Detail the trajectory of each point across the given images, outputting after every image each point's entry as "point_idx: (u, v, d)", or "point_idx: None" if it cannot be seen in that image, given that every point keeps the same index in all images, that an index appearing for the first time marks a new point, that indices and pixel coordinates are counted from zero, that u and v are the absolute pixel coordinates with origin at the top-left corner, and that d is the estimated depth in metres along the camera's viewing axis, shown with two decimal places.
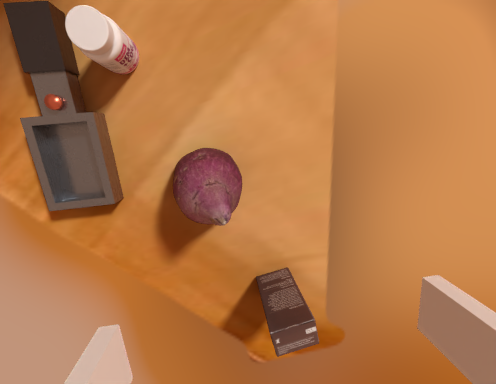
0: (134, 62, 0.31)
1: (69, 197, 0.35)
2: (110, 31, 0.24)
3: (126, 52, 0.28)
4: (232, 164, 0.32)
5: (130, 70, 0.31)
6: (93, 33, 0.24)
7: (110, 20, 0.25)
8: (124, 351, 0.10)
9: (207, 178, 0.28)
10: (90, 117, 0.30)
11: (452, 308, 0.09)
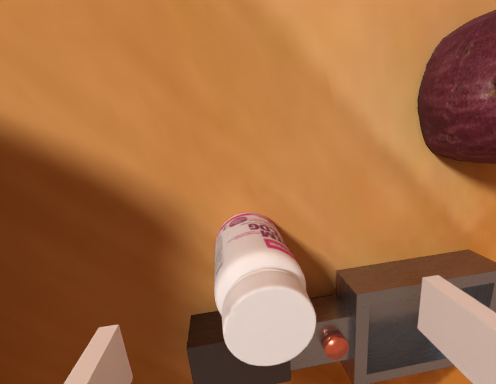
0: (266, 221, 0.16)
1: None
2: (269, 279, 0.10)
3: (272, 238, 0.14)
4: None
5: (276, 228, 0.17)
6: (280, 316, 0.10)
7: (230, 271, 0.11)
8: (124, 351, 0.10)
9: None
10: (365, 298, 0.17)
11: (452, 308, 0.09)
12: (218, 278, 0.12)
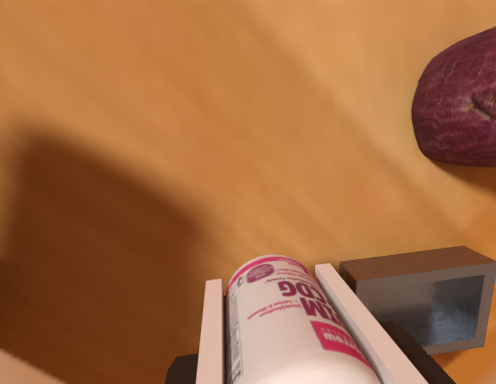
0: (302, 272, 0.11)
1: (451, 315, 0.24)
2: None
3: (323, 316, 0.08)
4: None
5: None
6: None
7: None
8: (223, 301, 0.12)
9: None
10: (364, 284, 0.19)
11: (327, 290, 0.11)
12: None
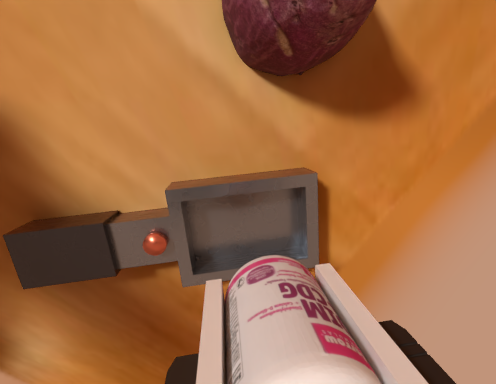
0: (303, 273, 0.11)
1: (298, 241, 0.23)
2: None
3: (324, 318, 0.08)
4: None
5: (314, 279, 0.12)
6: None
7: None
8: (223, 301, 0.12)
9: None
10: (174, 195, 0.19)
11: (327, 290, 0.11)
12: None
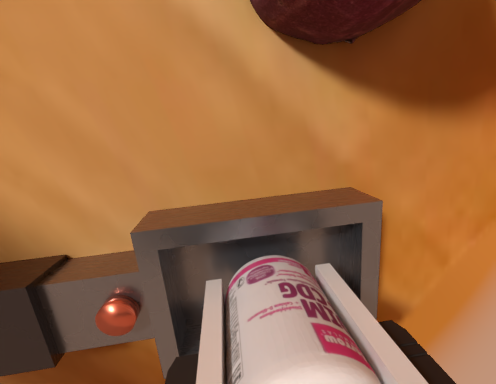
0: (303, 273, 0.11)
1: None
2: None
3: (324, 317, 0.08)
4: None
5: (314, 279, 0.12)
6: None
7: None
8: (223, 301, 0.12)
9: None
10: (146, 240, 0.11)
11: (327, 290, 0.11)
12: None
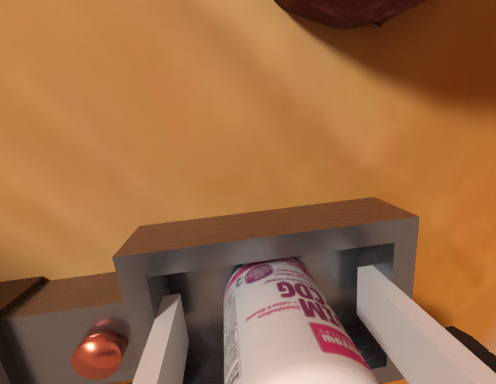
0: (301, 272, 0.11)
1: (358, 321, 0.14)
2: None
3: (322, 317, 0.08)
4: None
5: None
6: None
7: None
8: (183, 317, 0.11)
9: None
10: (132, 265, 0.09)
11: (376, 293, 0.10)
12: None
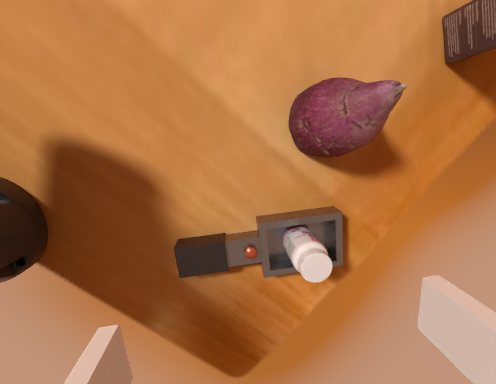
0: (308, 230, 0.35)
1: (329, 250, 0.38)
2: (316, 251, 0.29)
3: (313, 237, 0.33)
4: (314, 88, 0.29)
5: None
6: (320, 263, 0.29)
7: (299, 249, 0.31)
8: (124, 351, 0.10)
9: (336, 112, 0.25)
10: (263, 226, 0.34)
11: (453, 308, 0.09)
12: (294, 252, 0.31)
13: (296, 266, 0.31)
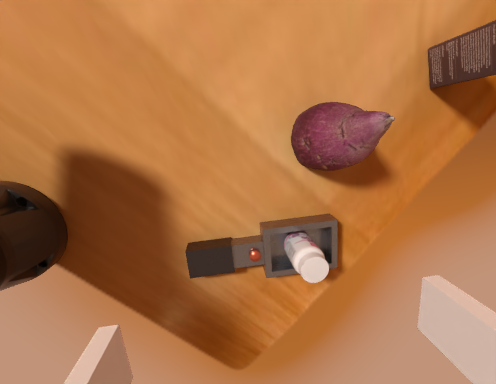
0: (307, 235, 0.39)
1: (325, 253, 0.42)
2: (314, 255, 0.33)
3: (312, 242, 0.36)
4: (315, 111, 0.32)
5: None
6: (318, 266, 0.33)
7: (300, 253, 0.34)
8: (124, 351, 0.10)
9: (335, 135, 0.29)
10: (266, 231, 0.37)
11: (453, 308, 0.09)
12: (295, 256, 0.35)
13: (296, 268, 0.35)
